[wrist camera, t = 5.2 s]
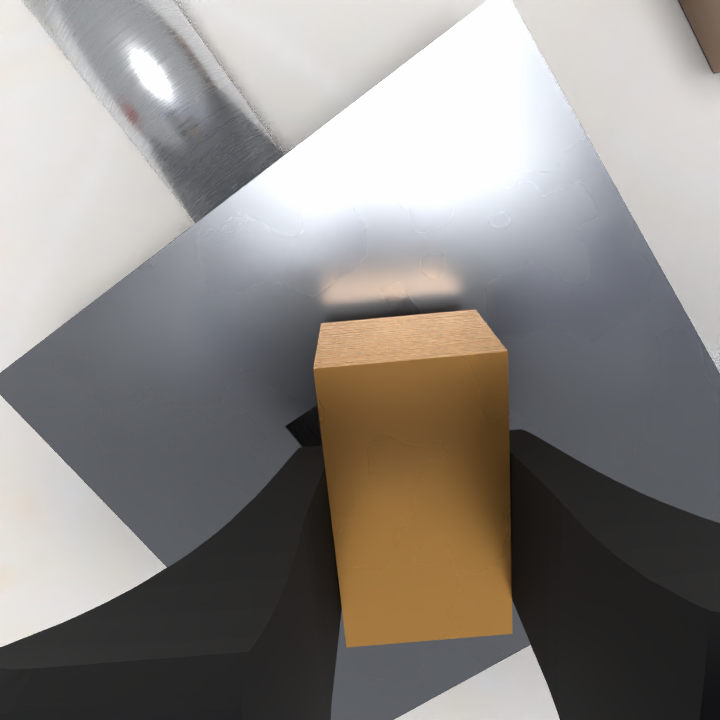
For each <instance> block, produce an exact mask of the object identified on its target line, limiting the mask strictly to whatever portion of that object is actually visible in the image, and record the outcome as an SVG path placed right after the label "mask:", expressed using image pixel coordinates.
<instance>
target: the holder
mask: <svg viewBox="0 0 720 720" xmlns="http://www.w3.org/2000/svg"><path fill="white" fill-rule="evenodd" d="M679 2H680V4H681V6H682V8H683V10H684V12H685V14H686V16H687V18H688V21H689V23H690V25H691V27H692V29H693V31H694V33H695V35H696V37H697V39H698V41H699V43H700V45H701V48H702V50H703V52H704V54H705V56H706V58H707V60H708V62H709V64H710V66H711V68H712V70H713V72H714V73H718V72H720V0H679Z"/></svg>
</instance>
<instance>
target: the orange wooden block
mask: <svg viewBox="0 0 720 720" xmlns="http://www.w3.org/2000/svg"><path fill="white" fill-rule="evenodd" d="M313 370H314V379H315V387H316V395H317V404H318V412H319V421H320V429H321V437H322V446H323V454H324V463H325V471H326V479H327V488H328V496H329V504H330V513H331V521H332V530H333V538H334V546H335V555H336V563H337V571H338V580H339V588H340V597H341V605H342V613H343V622H344V630H345V638H346V647H358V646H370V645H382V644H395V643H407V642H419V641H431V640H443V639H455V638H467V637H480V636H492V635H504V634H513V632H512V569H511V506H510V443H509V380H508V351H507V349H506V348H505V347H504V346H503V344H502V343H501V342H500V340H499V339H498V338H497V337H496V335H495V334H494V333H493V331H492V330H491V329H490V327H489V326H488V325H487V324H486V322H485V321H484V320H483V318H482V317H481V316H480V315H479V313H478V312H477V311H476V309H474V310H462V311H451V312H440V313H429V314H418V315H407V316H396V317H385V318H374V319H363V320H352V321H340V322H329V323H321V326H320V332H319V338H318V344H317V350H316V356H315V362H314V368H313Z"/></svg>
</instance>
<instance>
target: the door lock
mask: <svg viewBox="0 0 720 720" xmlns="http://www.w3.org/2000/svg"><path fill="white" fill-rule="evenodd" d="M22 2H23V3H24V4H25V5H26V7H27V8H28V9H29V10H30V12H31V13H32V14H33V16H34V17H35V18H36V19H37V21H38V22H39V23H40V25H41V26H42V27H43V28H44V30H45V31H46V32H47V33H48V35H49V36H50V37H51V39H52V40H53V41H54V42H55V44H56V45H57V46H58V48H59V49H60V50H61V51H62V53H63V54H64V55H65V56H66V58H67V59H68V60H69V62H70V63H71V64H72V65H73V67H74V68H75V69H76V71H77V72H78V73H79V74H80V76H81V77H82V78H83V80H84V81H85V82H86V83H87V85H88V86H89V87H90V88H91V90H92V91H93V92H94V94H95V95H96V96H97V97H98V99H99V100H100V101H101V103H102V104H103V105H104V106H105V108H106V109H107V110H108V111H109V113H110V114H111V115H112V117H113V118H114V119H115V120H116V122H117V123H118V124H119V126H120V127H121V128H122V129H123V131H124V132H125V133H126V134H127V136H128V137H129V138H130V140H131V141H132V142H133V143H134V145H135V146H136V147H137V149H138V150H139V151H140V152H141V154H142V155H143V156H144V158H145V159H146V160H147V161H148V163H149V164H150V165H151V166H152V168H153V169H154V170H155V172H156V173H157V174H158V175H159V177H160V178H161V179H162V181H163V182H164V183H165V184H166V186H167V187H168V188H169V189H170V191H171V192H172V193H173V195H174V196H175V197H176V198H177V200H178V201H179V202H180V204H181V205H182V206H183V207H184V209H185V210H186V211H187V213H188V214H189V215H190V216H191V218H192V219H193V220H194V221H195V223H196V224H194V225H193V226H192V227H190V228H189V229H188V230H186V231H185V232H184V233H182V234H181V235H180V236H179V237H177V238H176V239H175V240H173V241H172V242H171V243H169V244H168V245H167V246H165V247H164V248H163V249H162V250H160V251H159V252H158V253H156V254H155V255H154V256H152V257H151V258H150V259H148V260H147V261H146V262H145V263H143V264H142V265H141V266H139V267H138V268H137V269H135V270H134V271H133V272H131V273H130V274H129V275H128V276H126V277H125V278H124V279H122V280H121V281H120V282H118V283H117V284H116V285H114V286H113V287H112V288H111V289H109V290H108V291H107V292H105V293H104V294H103V295H101V296H100V297H99V298H97V299H96V300H95V301H94V302H92V303H91V304H90V305H88V306H87V307H86V308H84V309H83V310H82V311H80V312H79V313H78V314H77V315H75V316H74V317H73V318H71V319H70V320H69V321H67V322H66V323H65V324H63V325H62V326H61V327H60V328H58V329H57V330H56V331H54V332H53V333H52V334H50V335H49V336H48V337H46V338H45V339H44V340H43V341H41V342H40V343H39V344H37V345H36V346H35V347H33V348H32V349H31V350H29V351H28V352H27V353H26V354H24V355H23V356H22V357H20V358H19V359H18V360H16V361H15V362H14V363H13V364H11V365H10V366H9V367H7V368H6V369H5V370H3V371H2V372H1V373H0V395H1V396H2V397H3V398H4V399H5V400H6V401H7V402H8V403H9V404H10V405H11V406H12V407H13V408H14V409H15V410H16V411H17V412H18V413H19V414H20V415H21V417H22V418H23V419H24V420H25V421H26V422H27V423H28V424H29V425H30V426H31V427H32V428H33V429H34V430H35V431H36V432H37V433H38V434H39V435H40V436H41V437H42V438H43V439H44V440H45V441H46V442H47V443H48V444H49V445H50V447H51V448H52V449H53V450H54V451H55V452H56V453H57V454H58V455H59V456H60V457H61V458H62V459H63V460H64V461H65V462H66V463H67V464H68V465H69V466H70V467H71V468H72V469H73V470H74V471H75V472H76V473H77V474H78V476H79V477H80V478H81V479H82V480H83V481H84V482H85V483H86V484H87V485H88V486H89V487H90V488H91V489H92V490H93V491H94V492H95V493H96V494H97V495H98V496H99V497H100V498H101V499H102V500H103V501H104V502H105V503H106V504H107V506H108V507H109V508H110V509H111V510H112V511H113V512H114V513H115V514H116V515H117V516H118V517H119V518H120V519H121V520H122V521H123V522H124V523H125V524H126V525H127V526H128V527H129V528H130V529H131V530H132V531H133V532H134V533H135V535H136V536H137V537H138V538H139V539H140V540H141V541H142V542H143V543H144V544H145V545H146V546H147V547H148V548H149V549H150V550H151V551H152V552H153V553H154V554H155V555H156V556H157V557H158V558H159V559H160V560H161V561H162V562H163V564H164V565H165V566H166V567H169V566H171V565H172V564H174V563H176V562H177V561H179V560H180V559H182V558H183V557H185V556H186V555H188V554H189V553H190V552H192V551H193V550H194V549H196V548H197V547H198V546H200V545H201V544H202V543H204V542H205V541H206V540H208V539H209V538H210V537H212V536H213V535H214V534H215V533H217V532H218V531H219V530H220V529H221V528H223V527H224V526H225V525H226V524H227V523H228V522H229V521H231V520H232V519H233V518H234V517H235V516H236V515H237V514H238V513H239V512H240V511H241V510H242V509H243V508H244V507H245V506H246V505H247V504H248V503H249V502H250V501H252V500H253V499H254V498H255V497H256V496H257V494H258V493H259V492H260V491H261V490H262V489H263V488H264V487H265V486H266V485H267V484H268V482H269V481H270V480H271V479H272V478H273V477H274V476H275V474H276V473H277V472H278V471H279V470H280V469H281V468H282V466H283V465H284V464H285V463H286V462H287V460H288V459H289V458H290V457H291V456H292V455H293V454H294V453H295V452H296V450H297V449H298V448H300V447H312V446H322V437H321V429H320V421H319V412H318V404H317V395H316V387H315V379H314V370H313V368H314V362H315V356H316V350H317V344H318V338H319V332H320V326H321V323H329V322H340V321H352V320H363V319H374V318H385V317H396V316H407V315H418V314H429V313H440V312H451V311H462V310H474V309H476V311H477V312H478V313H479V315H480V316H481V317H482V318H483V320H484V321H485V322H486V324H487V325H488V326H489V327H490V329H491V330H492V331H493V333H494V334H495V335H496V337H497V338H498V339H499V340H500V342H501V343H502V344H503V346H504V347H505V348H506V349H507V351H508V380H509V430H518V429H523V430H525V431H527V432H529V433H531V434H533V435H535V436H537V437H539V438H540V439H542V440H544V441H546V442H547V443H549V444H551V445H552V446H554V447H556V448H558V449H559V450H561V451H563V452H564V453H566V454H568V455H569V456H571V457H573V458H575V459H576V460H578V461H580V462H582V463H584V464H585V465H587V466H589V467H591V468H593V469H594V470H596V471H598V472H600V473H602V474H604V475H606V476H608V477H609V478H611V479H613V480H615V481H617V482H620V483H622V484H624V485H626V486H628V487H630V488H632V489H634V490H636V491H638V492H640V493H642V494H645V495H647V496H649V497H652V498H654V499H656V500H659V501H661V502H663V503H666V504H669V505H671V506H674V507H676V508H679V509H682V510H684V511H687V512H689V513H692V514H695V515H697V516H700V517H703V518H706V519H709V520H712V521H715V522H718V523H720V373H719V371H718V370H717V368H716V366H715V364H714V362H713V361H712V359H711V357H710V355H709V353H708V352H707V350H706V348H705V346H704V344H703V343H702V341H701V339H700V337H699V335H698V334H697V332H696V330H695V328H694V327H693V325H692V323H691V321H690V319H689V318H688V316H687V314H686V312H685V310H684V309H683V307H682V305H681V303H680V301H679V300H678V298H677V296H676V294H675V292H674V291H673V289H672V287H671V285H670V283H669V282H668V280H667V278H666V276H665V275H664V273H663V271H662V269H661V267H660V266H659V264H658V262H657V260H656V258H655V257H654V255H653V253H652V251H651V249H650V248H649V246H648V244H647V242H646V240H645V239H644V237H643V235H642V233H641V231H640V230H639V228H638V226H637V224H636V223H635V221H634V219H633V217H632V215H631V214H630V212H629V210H628V208H627V206H626V205H625V203H624V201H623V199H622V197H621V196H620V194H619V192H618V190H617V188H616V187H615V185H614V183H613V181H612V179H611V178H610V176H609V174H608V172H607V171H606V169H605V167H604V165H603V163H602V162H601V160H600V158H599V156H598V154H597V153H596V151H595V149H594V147H593V145H592V144H591V142H590V140H589V138H588V136H587V135H586V133H585V131H584V129H583V127H582V126H581V124H580V122H579V120H578V119H577V117H576V115H575V113H574V111H573V110H572V108H571V106H570V104H569V102H568V101H567V99H566V97H565V95H564V93H563V92H562V90H561V88H560V86H559V84H558V83H557V81H556V79H555V77H554V75H553V74H552V72H551V70H550V68H549V67H548V65H547V63H546V61H545V59H544V58H543V56H542V54H541V52H540V50H539V49H538V47H537V45H536V43H535V41H534V40H533V38H532V36H531V34H530V32H529V31H528V29H527V27H526V25H525V23H524V22H523V20H522V18H521V16H520V15H519V13H518V11H517V9H516V7H515V6H514V4H513V2H512V0H487V1H486V2H484V3H483V4H482V5H481V6H479V7H478V8H477V9H475V10H474V11H473V12H471V13H470V14H469V15H467V16H466V17H465V18H464V19H462V20H461V21H460V22H458V23H457V24H456V25H454V26H453V27H452V28H450V29H449V30H448V31H447V32H445V33H444V34H443V35H441V36H440V37H439V38H437V39H436V40H435V41H433V42H432V43H431V44H430V45H428V46H427V47H426V48H424V49H423V50H422V51H420V52H419V53H418V54H416V55H415V56H414V57H413V58H411V59H410V60H409V61H407V62H406V63H405V64H403V65H402V66H401V67H399V68H398V69H397V70H396V71H394V72H393V73H392V74H390V75H389V76H388V77H386V78H385V79H384V80H382V81H381V82H380V83H379V84H377V85H376V86H375V87H373V88H372V89H371V90H369V91H368V92H367V93H365V94H364V95H363V96H362V97H360V98H359V99H358V100H356V101H355V102H354V103H352V104H351V105H350V106H348V107H347V108H346V109H345V110H343V111H342V112H341V113H339V114H338V115H337V116H335V117H334V118H333V119H332V120H330V121H329V122H328V123H326V124H325V125H324V126H322V127H321V128H320V129H318V130H317V131H316V132H315V133H313V134H312V135H311V136H309V137H308V138H307V139H305V140H304V141H303V142H301V143H300V144H299V145H298V146H296V147H295V148H294V149H292V150H291V151H290V152H288V153H287V154H286V155H284V154H283V153H282V152H281V150H280V149H279V147H278V146H277V145H276V143H275V142H274V140H273V139H272V138H271V136H270V135H269V133H268V132H267V131H266V129H265V128H264V126H263V125H262V124H261V122H260V121H259V119H258V118H257V117H256V115H255V114H254V112H253V111H252V110H251V108H250V107H249V105H248V104H247V103H246V101H245V100H244V98H243V97H242V95H241V94H240V93H239V91H238V90H237V88H236V87H235V86H234V84H233V83H232V81H231V80H230V79H229V77H228V76H227V74H226V73H225V72H224V70H223V69H222V67H221V66H220V65H219V63H218V62H217V60H216V59H215V58H214V56H213V55H212V53H211V52H210V51H209V49H208V48H207V46H206V45H205V44H204V42H203V41H202V39H201V38H200V37H199V35H198V34H197V32H196V31H195V30H194V28H193V27H192V25H191V24H190V22H189V21H188V20H187V18H186V17H185V15H184V14H183V13H182V11H181V10H180V8H179V7H178V6H177V4H176V3H175V1H174V0H22ZM512 632H513V634H504V635H492V636H480V637H467V638H455V639H443V640H431V641H419V642H407V643H395V644H382V645H370V646H358V647H346V638H345V630H344V622H343V613H342V611H341V621H340V630H339V639H338V649H337V658H336V667H335V676H334V685H333V695H332V706H331V720H394V719H396V718H398V717H399V716H401V715H403V714H405V713H407V712H409V711H410V710H412V709H414V708H416V707H418V706H419V705H421V704H423V703H425V702H427V701H429V700H430V699H432V698H434V697H436V696H438V695H440V694H441V693H443V692H445V691H447V690H449V689H451V688H452V687H454V686H456V685H458V684H460V683H461V682H463V681H465V680H467V679H469V678H471V677H472V676H474V675H476V674H478V673H480V672H482V671H483V670H485V669H487V668H489V667H491V666H492V665H494V664H496V663H498V662H500V661H502V660H503V659H505V658H507V657H509V656H511V655H513V654H514V653H516V652H518V651H520V650H522V649H523V648H525V647H527V646H529V645H531V644H530V641H529V639H528V637H527V634H526V632H525V630H524V627H523V625H522V622H521V620H520V618H519V615H518V613H517V610H516V608H515V606H514V603H513V601H512Z"/></svg>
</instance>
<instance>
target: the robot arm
mask: <svg viewBox="0 0 720 720" xmlns="http://www.w3.org/2000/svg"><path fill="white" fill-rule="evenodd" d="M509 443H510V506H511V569H512V601H513V603H514V606H515V608H516V610H517V613H518V615H519V618H520V620H521V622H522V625H523V627H524V630H525V632H526V634H527V637H528V639H529V641H530V644H531V646H532V649H533V651H534V653H535V656H536V658H537V661H538V663H539V665H540V668H541V670H542V672H543V675H544V677H545V680H546V682H547V684H548V687H549V690H550V692H551V695H552V698H553V701H554V703H555V706H556V709H557V711H558V715H559V718H560V720H720V523H718V522H715V521H712V520H709V519H706V518H703V517H700V516H697V515H695V514H692V513H689V512H687V511H684V510H682V509H679V508H676V507H674V506H671V505H669V504H666V503H663V502H661V501H659V500H656V499H654V498H652V497H649V496H647V495H645V494H642V493H640V492H638V491H636V490H634V489H632V488H630V487H628V486H626V485H624V484H622V483H620V482H617V481H615V480H613V479H611V478H609V477H608V476H606V475H604V474H602V473H600V472H598V471H596V470H594V469H593V468H591V467H589V466H587V465H585V464H584V463H582V462H580V461H578V460H576V459H575V458H573V457H571V456H569V455H568V454H566V453H564V452H563V451H561V450H559V449H558V448H556V447H554V446H552V445H551V444H549V443H547V442H546V441H544V440H542V439H540V438H539V437H537V436H535V435H533V434H531V433H529V432H527V431H525V430H523V429H518V430H509ZM341 611H342V605H341V597H340V588H339V580H338V571H337V563H336V555H335V546H334V538H333V530H332V521H331V513H330V504H329V496H328V488H327V479H326V471H325V463H324V454H323V446H312V447H300V448H298V449H297V450H296V452H295V453H294V454H293V455H292V456H291V457H290V458H289V459H288V460H287V462H286V463H285V464H284V465H283V466H282V468H281V469H280V470H279V471H278V472H277V473H276V474H275V476H274V477H273V478H272V479H271V480H270V481H269V482H268V484H267V485H266V486H265V487H264V488H263V489H262V490H261V491H260V492H259V493H258V494H257V496H256V497H255V498H254V499H253V500H252V501H250V502H249V503H248V504H247V505H246V506H245V507H244V508H243V509H242V510H241V511H240V512H239V513H238V514H237V515H236V516H235V517H234V518H233V519H232V520H231V521H229V522H228V523H227V524H226V525H225V526H224V527H223V528H221V529H220V530H219V531H218V532H217V533H215V534H214V535H213V536H212V537H210V538H209V539H208V540H206V541H205V542H204V543H202V544H201V545H200V546H198V547H197V548H196V549H194V550H193V551H192V552H190V553H189V554H188V555H186V556H185V557H183V558H182V559H180V560H179V561H177V562H176V563H174V564H172V565H171V566H169V567H167V568H166V569H164V570H163V571H161V572H159V573H158V574H156V575H155V576H153V577H151V578H150V579H148V580H146V581H145V582H143V583H142V584H140V585H138V586H136V587H135V588H133V589H131V590H129V591H127V592H125V593H124V594H122V595H120V596H118V597H116V598H114V599H112V600H110V601H108V602H106V603H104V604H102V605H100V606H98V607H96V608H94V609H92V610H90V611H88V612H85V613H83V614H81V615H79V616H77V617H75V618H72V619H70V620H68V621H66V622H63V623H61V624H59V625H56V626H54V627H51V628H48V629H46V630H43V631H41V632H38V633H36V634H33V635H31V636H28V637H26V638H23V639H21V640H18V641H16V642H13V643H11V644H8V645H6V646H3V647H0V720H331V706H332V695H333V685H334V676H335V667H336V658H337V649H338V639H339V630H340V621H341Z"/></svg>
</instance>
